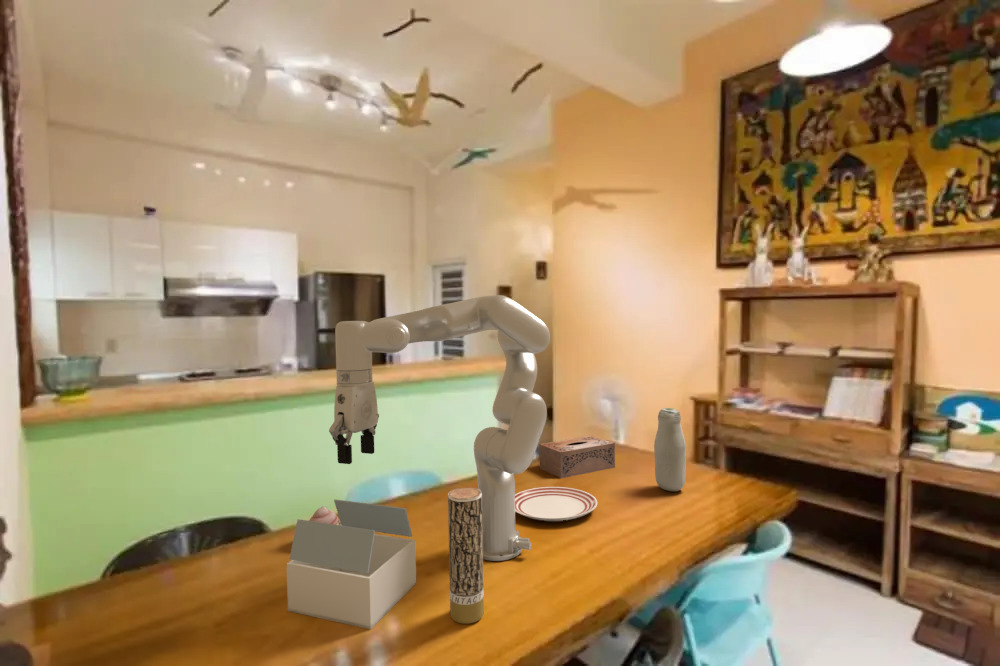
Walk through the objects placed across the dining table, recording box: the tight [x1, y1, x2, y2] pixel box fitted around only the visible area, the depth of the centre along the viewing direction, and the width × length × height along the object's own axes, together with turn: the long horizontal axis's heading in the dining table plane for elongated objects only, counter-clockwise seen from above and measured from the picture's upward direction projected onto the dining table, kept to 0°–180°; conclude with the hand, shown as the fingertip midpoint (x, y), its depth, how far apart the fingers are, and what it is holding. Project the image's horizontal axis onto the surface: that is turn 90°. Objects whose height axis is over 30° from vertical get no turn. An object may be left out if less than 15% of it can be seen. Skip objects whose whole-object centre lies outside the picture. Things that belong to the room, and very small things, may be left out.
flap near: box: [289, 519, 376, 573], centre depth 104 cm, size 19×8×1 cm
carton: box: [286, 533, 417, 630], centre depth 111 cm, size 20×18×10 cm
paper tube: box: [447, 487, 485, 625], centre depth 103 cm, size 7×7×25 cm
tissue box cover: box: [538, 435, 616, 479], centre depth 202 cm, size 26×14×10 cm, turn 119°
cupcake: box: [308, 505, 342, 526], centre depth 138 cm, size 9×9×10 cm
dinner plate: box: [515, 486, 598, 522], centre depth 159 cm, size 27×27×3 cm
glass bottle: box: [653, 407, 687, 493], centre depth 174 cm, size 10×10×28 cm
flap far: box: [333, 499, 413, 538], centre depth 118 cm, size 19×8×1 cm
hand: (356, 457), depth 112 cm, fingers open, 7 cm apart
